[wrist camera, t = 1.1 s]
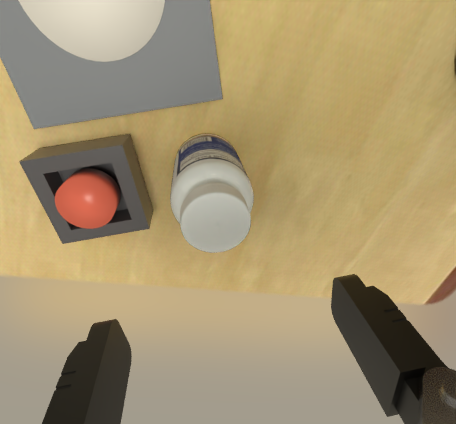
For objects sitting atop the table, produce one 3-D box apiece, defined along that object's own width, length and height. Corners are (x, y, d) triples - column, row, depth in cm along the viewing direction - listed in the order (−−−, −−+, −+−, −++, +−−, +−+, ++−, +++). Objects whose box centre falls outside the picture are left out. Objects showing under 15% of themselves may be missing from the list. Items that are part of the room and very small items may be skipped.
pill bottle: (223, 200, 26) (240, 271, 18) (166, 181, 25) (155, 250, 16) (248, 145, 24) (280, 198, 16) (187, 121, 22) (186, 165, 14)
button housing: (129, 133, 22) (122, 144, 20) (153, 210, 26) (149, 228, 23) (39, 148, 22) (19, 161, 20) (75, 224, 26) (62, 243, 23)
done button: (110, 164, 21) (103, 174, 20) (127, 210, 23) (122, 223, 22) (56, 173, 21) (44, 184, 19) (77, 219, 23) (68, 232, 21)
